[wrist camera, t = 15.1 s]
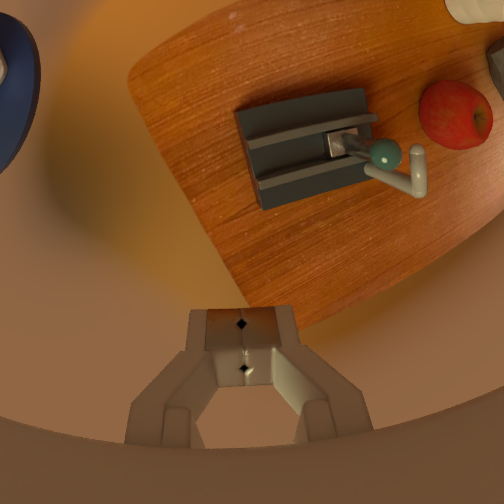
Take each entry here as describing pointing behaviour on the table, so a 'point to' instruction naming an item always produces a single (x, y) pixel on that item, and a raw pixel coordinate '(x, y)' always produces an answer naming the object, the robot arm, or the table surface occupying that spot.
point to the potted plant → (497, 64)
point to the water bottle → (476, 10)
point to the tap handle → (363, 147)
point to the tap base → (314, 148)
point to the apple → (455, 115)
